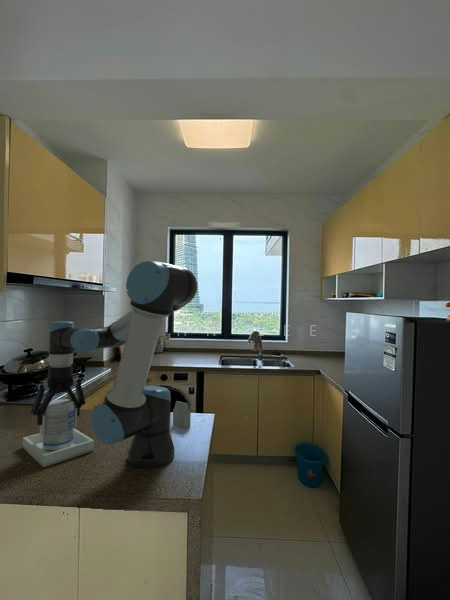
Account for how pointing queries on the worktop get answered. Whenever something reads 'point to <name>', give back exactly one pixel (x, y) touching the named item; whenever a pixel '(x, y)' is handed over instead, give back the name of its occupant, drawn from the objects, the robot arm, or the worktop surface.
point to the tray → (49, 457)
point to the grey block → (181, 415)
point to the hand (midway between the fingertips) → (58, 429)
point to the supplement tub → (59, 424)
